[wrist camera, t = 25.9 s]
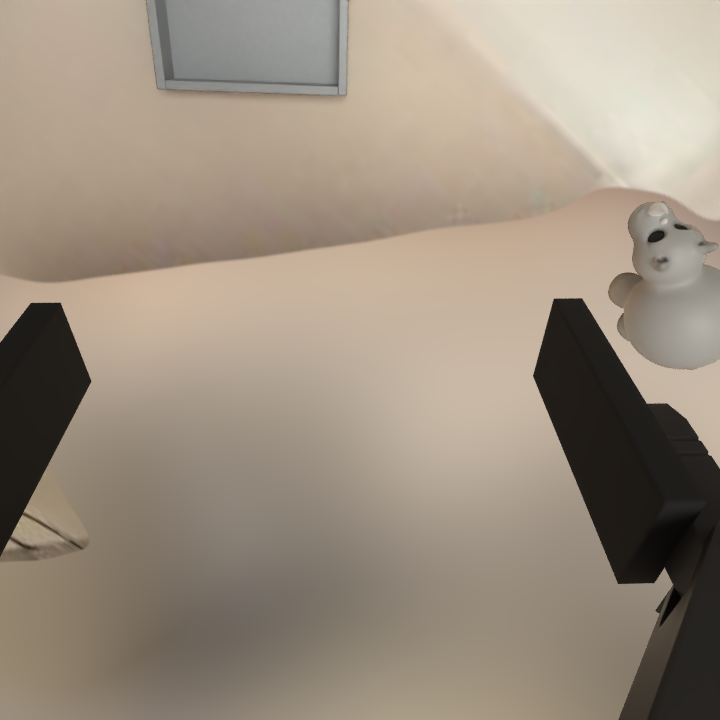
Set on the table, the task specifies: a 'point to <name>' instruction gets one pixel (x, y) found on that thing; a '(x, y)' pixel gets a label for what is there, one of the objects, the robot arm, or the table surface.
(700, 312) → the chubby cartoon animal
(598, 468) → the robot arm
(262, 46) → the tin
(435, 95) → the table surface
